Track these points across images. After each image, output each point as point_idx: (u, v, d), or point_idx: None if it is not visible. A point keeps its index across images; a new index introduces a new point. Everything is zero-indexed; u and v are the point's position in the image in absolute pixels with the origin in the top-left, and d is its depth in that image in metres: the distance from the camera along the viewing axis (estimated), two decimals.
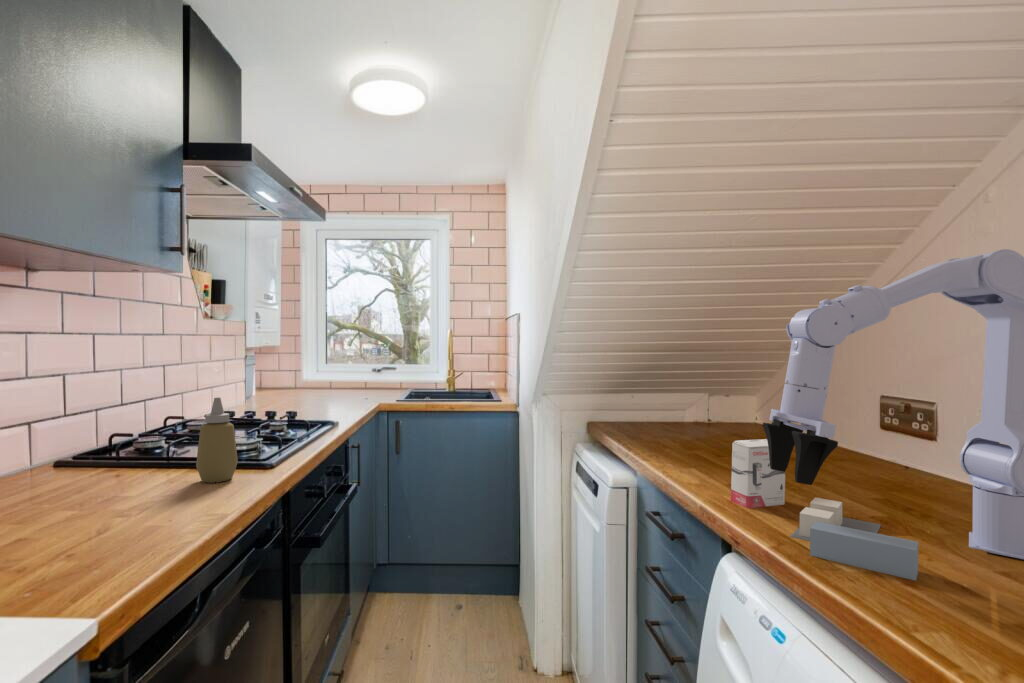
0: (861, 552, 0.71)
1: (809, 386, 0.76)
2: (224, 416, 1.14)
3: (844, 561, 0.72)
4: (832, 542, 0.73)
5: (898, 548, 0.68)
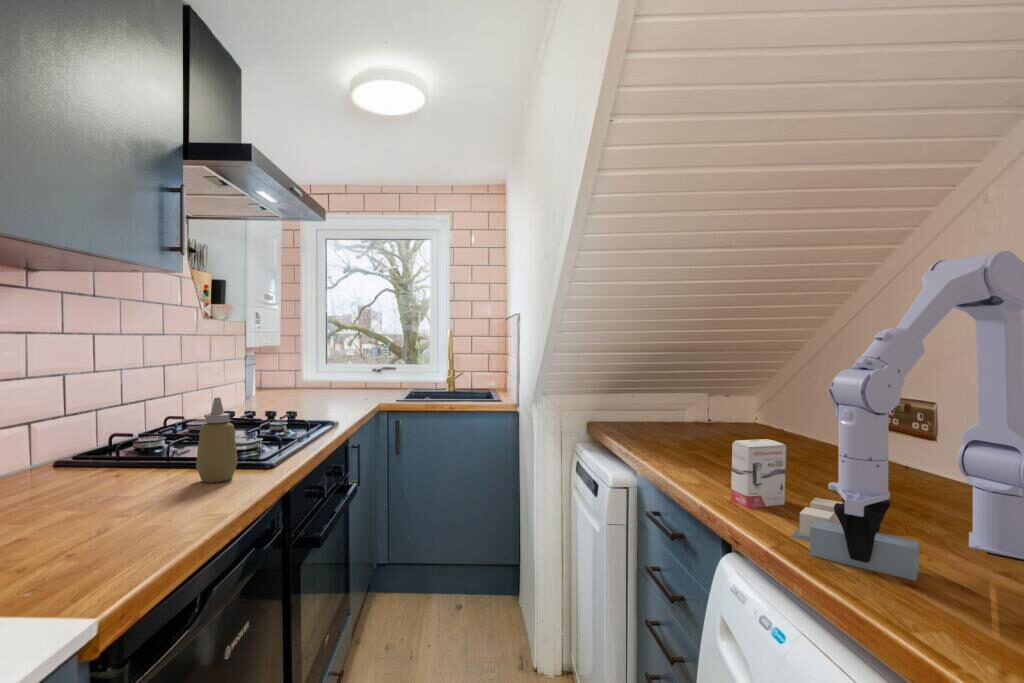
0: None
1: (851, 457, 0.71)
2: (224, 416, 1.14)
3: (844, 559, 0.72)
4: (832, 540, 0.73)
5: (898, 546, 0.68)
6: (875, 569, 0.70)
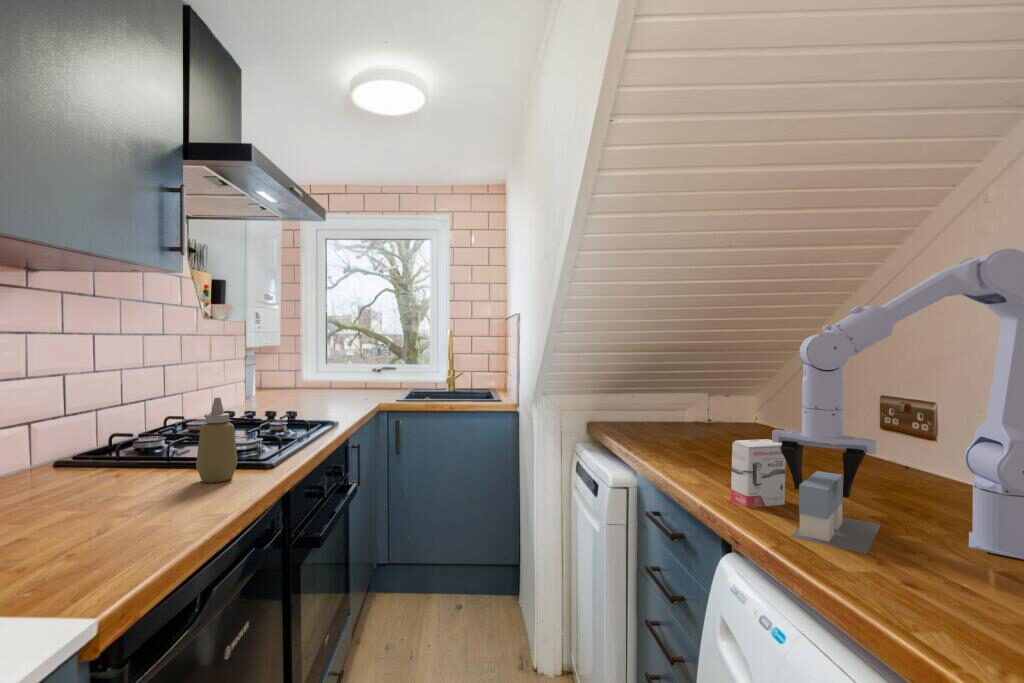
0: None
1: None
2: (224, 416, 1.14)
3: None
4: None
5: (802, 483, 0.84)
6: None
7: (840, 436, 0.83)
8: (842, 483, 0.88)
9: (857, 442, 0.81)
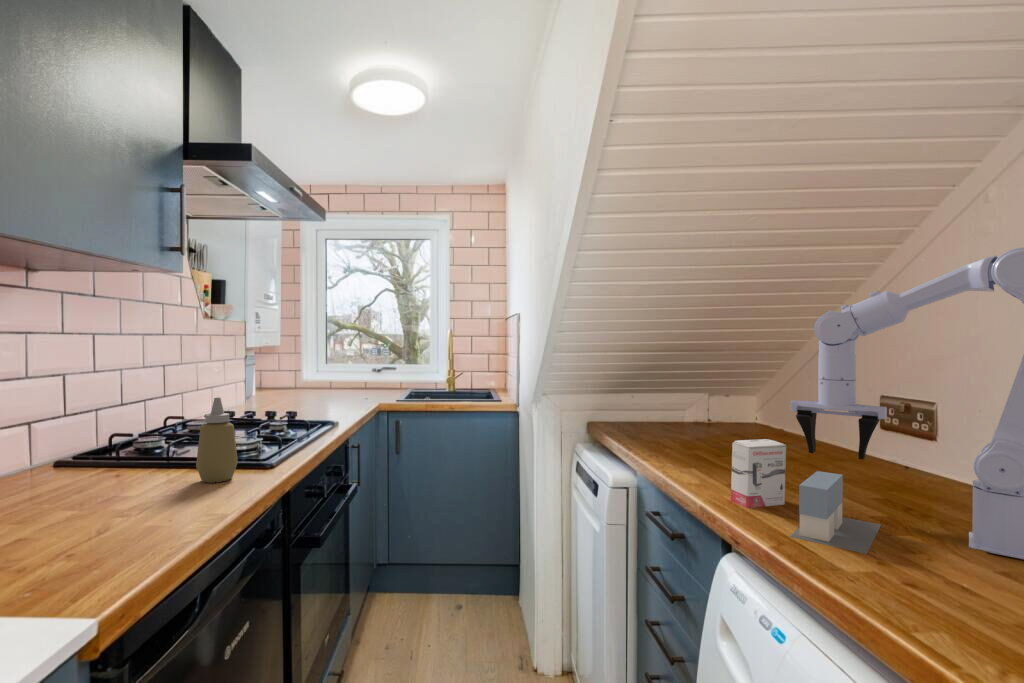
0: None
1: None
2: (224, 416, 1.14)
3: None
4: None
5: (802, 483, 0.84)
6: None
7: (853, 404, 0.92)
8: (842, 483, 0.88)
9: (869, 408, 0.90)
